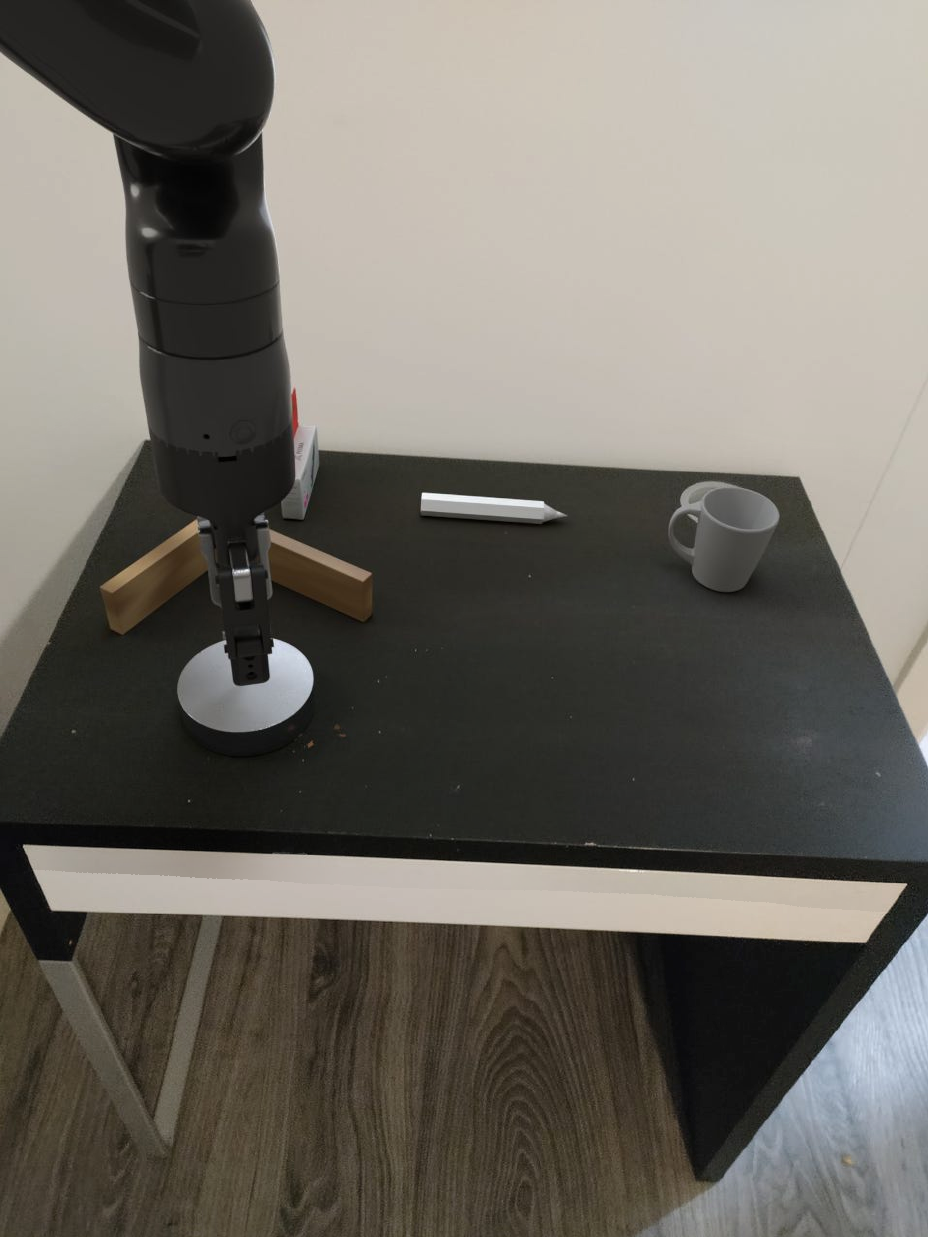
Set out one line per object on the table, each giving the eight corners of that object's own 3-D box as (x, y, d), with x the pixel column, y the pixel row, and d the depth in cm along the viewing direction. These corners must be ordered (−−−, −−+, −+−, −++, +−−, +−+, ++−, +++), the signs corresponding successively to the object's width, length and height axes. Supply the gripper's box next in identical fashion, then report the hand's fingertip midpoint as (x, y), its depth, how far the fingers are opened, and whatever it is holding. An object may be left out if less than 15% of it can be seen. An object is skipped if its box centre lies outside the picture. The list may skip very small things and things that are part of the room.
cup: (756, 606, 93) (781, 537, 87) (656, 587, 94) (674, 518, 88) (756, 560, 98) (779, 493, 93) (661, 543, 100) (678, 476, 94)
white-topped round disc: (258, 777, 73) (255, 753, 71) (153, 720, 77) (147, 695, 75) (341, 692, 80) (340, 668, 78) (241, 644, 84) (238, 619, 82)
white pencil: (566, 528, 102) (420, 517, 101) (566, 511, 102) (421, 499, 102) (570, 519, 99) (420, 507, 99) (570, 500, 100) (422, 489, 99)
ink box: (320, 464, 107) (316, 387, 100) (303, 521, 98) (298, 441, 92) (298, 462, 107) (293, 385, 100) (280, 519, 98) (273, 439, 92)
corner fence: (272, 712, 78) (267, 670, 75) (110, 629, 84) (99, 586, 81) (372, 614, 88) (372, 573, 85) (221, 546, 94) (215, 505, 91)
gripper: (143, 352, 53) (178, 572, 64) (149, 490, 43) (190, 724, 54) (275, 345, 55) (288, 560, 66) (311, 477, 45) (320, 705, 56)
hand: (244, 634), depth 60 cm, fingers open, 8 cm apart
